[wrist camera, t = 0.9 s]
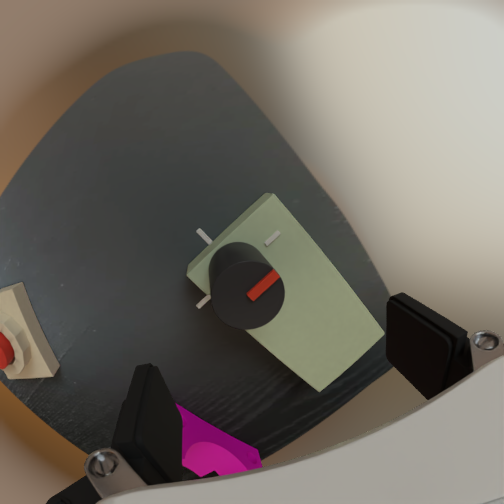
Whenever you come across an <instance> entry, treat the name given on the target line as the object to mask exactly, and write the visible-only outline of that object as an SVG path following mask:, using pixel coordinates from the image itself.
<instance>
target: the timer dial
mask: <svg viewBox="0 0 504 504" xmlns="http://www.w3.org/2000/svg"><path fill="white" fill-rule="evenodd" d="M209 283H210V295H211V303H212V307H213V310H214V312H215V314H216V315H217V316H218V318H219V319H220V320H221V321H222V322H224V323H225V324H227V325H228V326H230V327H233V328H236V329H241V330H250V329H256V328H259V327H262V326H264V325H266V324H267V323H269V322H270V321H271V320H273V319H274V318H275V317H276V315H277V314H278V313H279V311H280V310H281V308H282V305H283V302H284V298H285V288H284V283H283V281H282V278H281V277H280V275H279V274H278V273H277V271H276V270H275V269H274V268H273V267H272V265H271V264H270V263H269V262H268V261H267V260H266V258H265V257H264V256H263V255H262V254H261V253H260V251H259V250H258V249H257V248H255V247H254V246H252V245H250V244H248V243H244V242H232V243H229V244H226V245H224V246H222V247H221V248H219V249H218V250H217V251H216V252H215V253H214V255H213V256H212V258H211V260H210V263H209Z"/></svg>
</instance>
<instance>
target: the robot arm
mask: <svg viewBox="0 0 504 504" xmlns="http://www.w3.org/2000/svg"><path fill="white" fill-rule="evenodd" d="M467 333H468V332H467V331H466V330H464V329H462V328H461V327H459V326H458V325H456V324H455V323H453V322H451V321H450V320H448V319H447V318H445V317H443V316H442V315H440V314H438V313H437V312H435V311H433V310H432V309H430V308H428V307H426V306H425V305H423V304H422V303H420V302H418V301H417V300H415V299H413V298H411V297H410V296H408V295H406V294H405V293H399V294H397V295H394V296H391V297H390V299H389V301H388V302H387V330H386V357H387V359H388V361H389V362H390V363H391V364H392V365H393V366H394V367H395V368H396V369H397V370H398V371H399V372H400V373H401V374H402V375H403V376H404V377H405V378H406V379H407V380H408V381H409V382H410V383H411V384H412V385H413V386H414V387H415V388H416V389H417V390H418V391H419V392H420V393H421V394H422V395H423V396H424V397H425V398H426V399H427V400H428V401H426V402H424V403H423V404H421V405H419V406H417V407H416V408H414V409H412V410H410V411H408V412H407V413H405V414H403V415H401V416H399V417H397V418H395V419H393V420H391V421H389V422H387V423H385V424H383V425H381V426H379V427H376V428H374V429H372V430H370V431H368V432H365V433H363V434H361V435H358V436H356V437H354V438H351V439H349V440H346V441H344V442H341V443H339V444H336V445H334V446H331V447H328V448H326V449H323V450H320V451H317V452H314V453H311V454H308V455H305V456H301V457H298V458H295V459H291V460H288V461H285V462H281V463H277V464H274V465H270V466H266V467H262V468H257V469H253V470H248V471H244V472H239V473H233V474H228V475H222V476H217V477H211V478H204V479H197V480H189V481H182V432H183V420H182V416H181V413H180V412H179V410H178V408H177V406H176V404H175V402H174V400H173V398H172V396H171V394H170V392H169V390H168V388H167V386H166V384H165V382H164V379H163V377H162V375H161V373H160V371H159V369H158V367H157V366H154V367H153V365H152V364H150V363H149V364H144V365H138V366H136V368H135V372H134V375H133V378H132V381H131V385H130V388H129V391H128V395H127V398H126V400H125V401H124V402H123V404H122V407H121V411H120V414H119V418H118V421H117V425H116V429H115V432H114V436H113V440H112V444H111V448H103V449H99V450H96V451H94V452H93V453H92V454H90V455H89V456H88V458H87V459H86V461H85V464H84V470H85V473H86V476H84V477H83V478H81V479H80V480H78V481H77V482H75V483H74V484H72V485H70V486H69V487H67V488H66V489H64V490H63V491H61V492H59V493H58V494H56V495H54V496H53V497H51V498H50V499H49V500H48V501H47V503H46V504H504V344H503V341H502V339H501V337H500V336H499V335H498V334H497V333H495V332H492V331H488V330H487V331H486V330H483V331H478V332H476V333H474V334H473V335H472V336H471V338H470V339H469V338H467Z"/></svg>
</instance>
